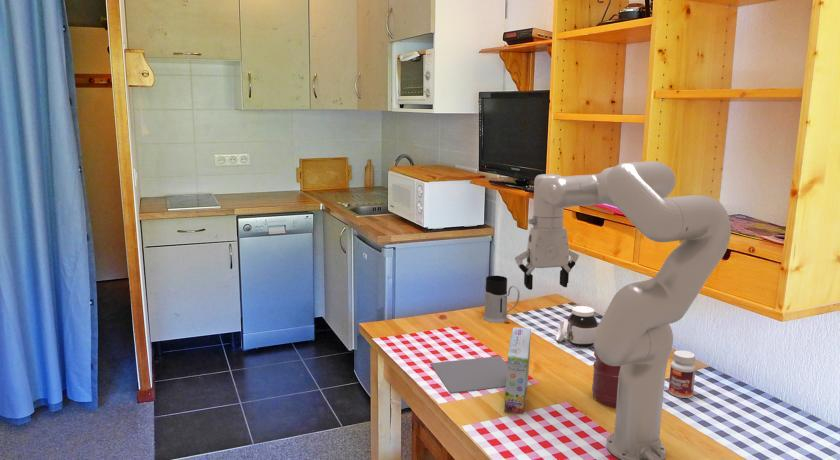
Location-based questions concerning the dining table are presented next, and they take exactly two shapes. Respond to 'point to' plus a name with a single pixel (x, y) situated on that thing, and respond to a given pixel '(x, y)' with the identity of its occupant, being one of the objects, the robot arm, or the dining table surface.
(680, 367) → the pill bottle
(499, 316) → the grey mug
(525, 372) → the snack box
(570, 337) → the spread jar
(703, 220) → the robot arm
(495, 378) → the mat
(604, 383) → the canister
